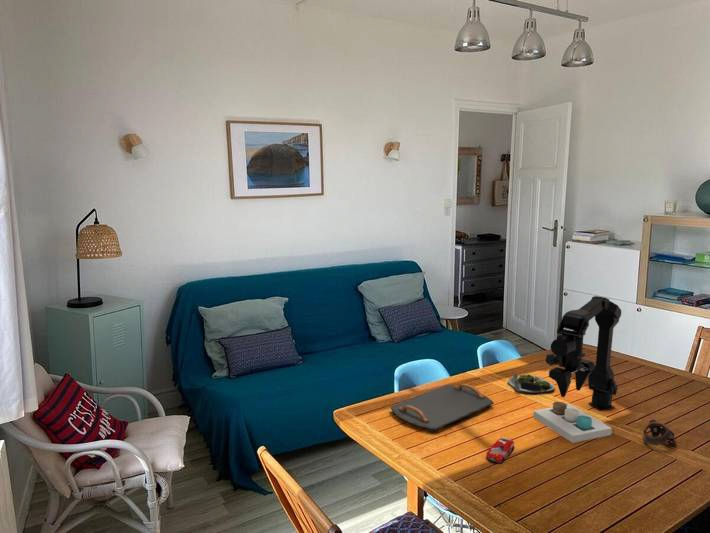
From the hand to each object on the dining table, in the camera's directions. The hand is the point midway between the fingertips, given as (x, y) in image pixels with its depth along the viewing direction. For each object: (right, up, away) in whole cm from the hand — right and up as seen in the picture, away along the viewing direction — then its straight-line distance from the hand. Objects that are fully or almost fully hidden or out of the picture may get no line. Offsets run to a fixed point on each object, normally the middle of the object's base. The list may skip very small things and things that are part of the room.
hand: (570, 393), depth 181 cm
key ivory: (+2, -10, +3) cm, 11 cm away
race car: (-28, -16, -14) cm, 35 cm away
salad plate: (-1, -7, +38) cm, 39 cm away
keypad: (+2, -12, +4) cm, 13 cm away
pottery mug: (+25, -14, -8) cm, 30 cm away
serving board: (-41, -11, +17) cm, 46 cm away
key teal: (+4, -11, -2) cm, 12 cm away
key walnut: (0, -9, +9) cm, 13 cm away
